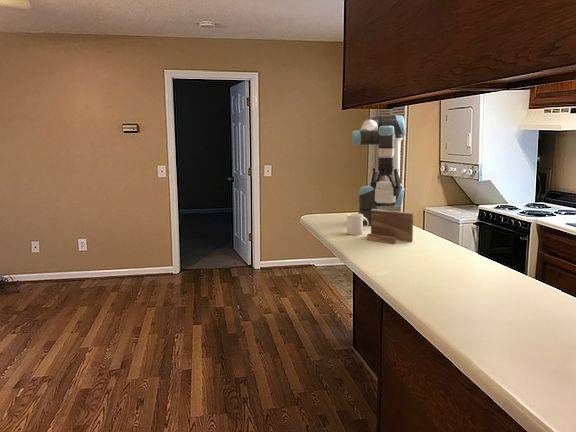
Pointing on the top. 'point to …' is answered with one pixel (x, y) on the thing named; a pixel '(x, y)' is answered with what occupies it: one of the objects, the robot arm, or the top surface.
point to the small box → (384, 192)
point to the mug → (355, 224)
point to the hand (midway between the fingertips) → (385, 201)
